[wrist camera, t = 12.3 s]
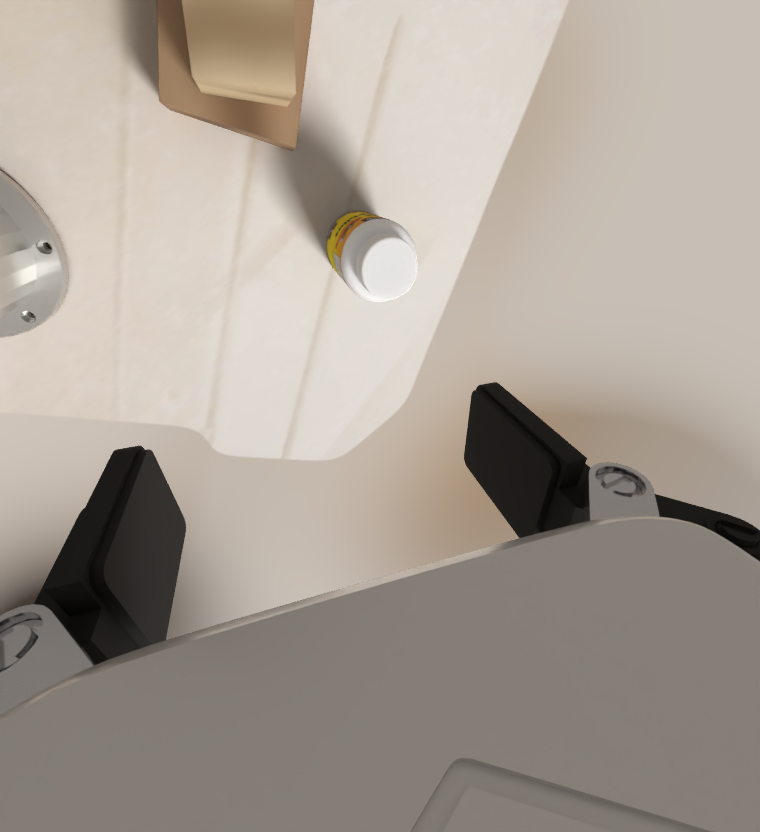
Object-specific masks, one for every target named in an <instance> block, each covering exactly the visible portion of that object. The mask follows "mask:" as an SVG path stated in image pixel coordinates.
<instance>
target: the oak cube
mask: <svg viewBox="0 0 760 832" xmlns="http://www.w3.org/2000/svg"><path fill="white" fill-rule="evenodd" d="M182 6H183V13H184V20H185V28H186V35H187V43H188V50H189V58H190V65H191V73H192V77H193V79H194V80H195V82H196V84H197V86H198V88H199V89H200V91H201V93H203V94H209V95H216V96H222V97H228V98H235V99H241V100H247V101H254V102H260V103H267V104H273V105H279V106H286V107H288V105H289V103H290V102H291V100H292V99H293V97H294V95H295V94H296V78H295V37H294V0H182Z"/></svg>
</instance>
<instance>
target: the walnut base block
mask: <svg viewBox="0 0 760 832" xmlns="http://www.w3.org/2000/svg"><path fill="white" fill-rule="evenodd" d="M313 6H314V0H294V37H295V78H296V94H295V95H294V97H293V99H292V100H291V102H290V103H289V105H288V107H286V106H279V105H273V104H267V103H260V102H254V101H247V100H241V99H235V98H228V97H222V96H216V95H209V94H203V93H201V91H200V89H199V88H198V86H197V84H196V82H195V80H194V79H193V77H192V73H191V65H190V58H189V50H188V43H187V35H186V28H185V20H184V13H183V6H182V0H157V17H158V69H159V102H161V103H162V104H163V105H164V106H166V107H167V108H168V109H169V110H171V111H174V112H177V113H180V114H183V115H186V116H189V117H192V118H195V119H198V120H201V121H204V122H207V123H210V124H213V125H216V126H219V127H222V128H225V129H228V130H231V131H234V132H237V133H240V134H243V135H246V136H249V137H252V138H255V139H258V140H261V141H264V142H267V143H270V144H273V145H276V146H279V147H282V148H285V149H288V150H293V149H294V148H296V143H297V135H298V127H299V119H300V111H301V103H302V95H303V87H304V79H305V71H306V63H307V55H308V47H309V39H310V31H311V23H312V15H313Z"/></svg>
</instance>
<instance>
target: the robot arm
mask: <svg viewBox="0 0 760 832" xmlns="http://www.w3.org/2000/svg"><path fill="white" fill-rule="evenodd" d="M46 242H47V243H49V244H50V246H51V247H52V249H49V248H47V246H46ZM68 279H69V272H68V263H67V257H66V254H65V251H64V248H63V245H62V242H61V240H60V238H59V236H58V234H57V232H56V231H55V229H54V227H53V225H52V223H51V222H50V220H49V219H48V217H47V216H46V215H45V213H44V212H43V211H42V209H41V208H40V207H39V205H38V204H37V203H36V202H35V201H34V200H33V199H32V198H31V197H30V196H29V195H28V194H27V193H26V192H25V191H24V190H23V189H22V188H21V187H20V186H19V185H18V184H17V183H16V182H15V181H13V180H12V179H11V178H9V177H8V176H7V175H6V174H4V173H3V172H2V171H1V170H0V338H1V337H9V336H14V335H18V334H21V333H24V332H27V331H30V330H31V329H33V328H35V327H37V326H38V325H40V324H42V323H43V322H45V321H46V320H47V319H48V318H50V317H51V316H52V315H53V314H54V313H55V312H56V310H57V309H58V308H59V307H60V305H61V304H62V302H63V299H64V297H65V294H66V292H67V287H68ZM30 312H31V313H33V314H34V315H35V316H33V315H32V314H31V313H30ZM464 460H465V463H466V466H467V467H468V469H469V470H470V472H471V473H472V474H473V475H474V477H475V478H476V480H477V481H478V482H479V484H480V485H481V486H482V488H483V489H484V490H485V492H486V493H487V494H488V496H489V497H490V499H491V500H492V501H493V503H494V504H495V505H496V507H497V508H498V509H499V511H500V512H501V513H502V515H503V516H504V518H505V519H506V520H507V522H508V523H509V524H510V526H511V527H512V528H513V530H514V531H515V533H516V534H517V535H518V537H519V539H515V540H512V541H508V542H505V543H501V544H497V545H494V546H490V547H487V548H483V549H480V550H476V551H472V552H469V553H465V554H462V555H458V556H454V557H451V558H448V559H444V560H441V561H437V562H433V563H429V564H426V565H423V566H419V567H415V568H412V569H408V570H405V571H401V572H398V573H394V574H391V575H387V576H384V577H380V578H377V579H373V580H370V581H366V582H363V583H359V584H356V585H353V586H349V587H345V588H342V589H338V590H335V591H331V592H328V593H324V594H321V595H317V596H314V597H311V598H307V599H303V600H300V601H297V602H293V603H290V604H286V605H283V606H279V607H276V608H273V609H269V610H266V611H262V612H259V613H256V614H252V615H249V616H245V617H242V618H238V619H234V620H231V621H228V622H224V623H221V624H218V625H215V626H211V627H208V628H205V629H201V630H198V631H195V632H192V633H188V634H185V635H182V636H178V637H175V638H172V639H169V640H166V635H167V630H168V624H169V618H170V614H171V608H172V603H173V597H174V592H175V587H176V581H177V576H178V570H179V564H180V559H181V554H182V549H183V543H184V538H185V532H186V524H185V519H184V517H183V515H182V513H181V511H180V508H179V506H178V504H177V502H176V500H175V498H174V496H173V494H172V491H171V489H170V487H169V485H168V483H167V481H166V479H165V477H164V475H163V473H162V470H161V469H160V466H159V464H158V462H157V460H156V458H155V456H154V454H153V452H152V451H151V450H144V448H143V447H142V446H135V447H129V448H123V449H118V450H115V451H114V452H113V454H112V455H111V457H110V459H109V461H108V463H107V465H106V467H105V469H104V471H103V473H102V475H101V477H100V479H99V481H98V483H97V485H96V487H95V489H94V491H93V493H92V495H91V497H90V499H89V501H88V503H87V505H86V507H85V508H84V509H83V510H82V511H81V513H80V514H79V516H78V518H77V520H76V522H75V524H74V526H73V528H72V530H71V532H70V534H69V536H68V538H67V540H66V542H65V544H64V546H63V548H62V550H61V552H60V554H59V555H58V558H57V559H56V561H55V564H54V565H53V567H52V569H51V572H50V573H49V575H48V577H47V579H46V581H45V583H44V585H43V587H42V589H41V591H40V593H39V595H38V597H37V599H36V601H35V603H34V604H32V605H27V606H22V607H19V608H16V609H13V610H11V611H8V612H6V613H4V614H3V615H1V616H0V832H760V530H758V529H757V528H756V527H754V526H753V525H751V524H749V523H748V522H746V521H744V520H741V519H739V518H736V517H733V516H731V515H728V514H724V513H721V512H717V511H713V510H710V509H706V508H703V507H699V506H696V505H692V504H688V503H685V502H681V501H677V500H674V499H670V498H667V497H663V496H660V495H656V494H654V489H653V487H652V485H651V483H650V482H649V481H648V479H647V478H646V477H645V476H643V475H642V474H641V473H639V472H638V471H636V470H634V469H632V468H630V467H627V466H624V465H621V464H617V463H608V462H607V463H599V464H596V465H594V466H593V467H591V468H590V467H589V466H587V465H586V464H585V462H586V460H587V458H586V457H585V456H584V455H582V454H581V453H580V452H579V451H578V450H577V449H575V448H574V447H573V446H572V445H571V444H569V443H568V442H567V441H566V440H565V439H564V438H562V437H561V436H560V435H559V434H558V433H556V432H555V431H554V430H553V429H552V428H550V427H549V426H548V425H547V424H546V423H545V422H543V421H542V420H541V419H540V418H539V417H538V416H536V415H535V414H534V413H533V412H531V411H530V410H529V409H528V408H527V407H526V406H525V405H523V404H522V403H521V402H520V401H518V400H517V399H516V398H515V397H514V396H513V395H512V394H510V393H509V392H508V391H506V390H505V389H504V388H503V387H502V386H501V385H500V384H498V383H489V384H483V385H479V386H478V387H477V389H476V390H475V391H473V393H472V396H471V404H470V412H469V421H468V429H467V436H466V445H465V453H464Z"/></svg>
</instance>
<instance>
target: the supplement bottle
mask: <svg viewBox="0 0 760 832" xmlns="http://www.w3.org/2000/svg"><path fill="white" fill-rule="evenodd" d="M326 251H327V256H328V259H329V262H330V264H331V265H332V267H333V268H334V270H335V271H336V272H337V273H338V274H339V276H340V277H341V278H342V279H343V280H344V282H345V283H346V284H347V285H348V286H349V288H350V289H351V290H352V291H353V292H354V293H355V294H357V295H358V296H359V297H361V298H363V299H365V300H368V301H372V302H383V301H388V300H391V299H395V298H398V297H400V296H402V295H403V294H405V293H406V292H407V291H408V290H409V289H410V288H411V286H412V285H413V283H414V281H415V279H416V276H417V272H418V260H417V253H416V248H415V244H414V242H413V240H412V238H411V236H410V235H409V233H408V232H407V231H406V230H405V229H404V228H403V227H402V226H401V225H399V224H398V223H396V222H394V221H391V220H389V219H385V218H382V217H379V216H377V215H373V214H370V213H367V212H363V211H352V212H348V213H346V214H344V215H342V216H341V217H339V218H338V219H337V220H336V221H335V222H334V223H333V225H332V226H331V228H330V230H329V233H328V236H327V240H326Z"/></svg>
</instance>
